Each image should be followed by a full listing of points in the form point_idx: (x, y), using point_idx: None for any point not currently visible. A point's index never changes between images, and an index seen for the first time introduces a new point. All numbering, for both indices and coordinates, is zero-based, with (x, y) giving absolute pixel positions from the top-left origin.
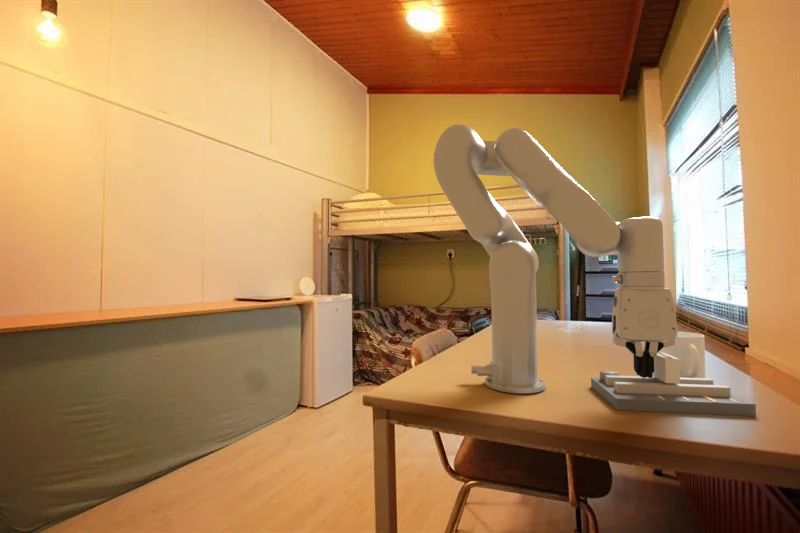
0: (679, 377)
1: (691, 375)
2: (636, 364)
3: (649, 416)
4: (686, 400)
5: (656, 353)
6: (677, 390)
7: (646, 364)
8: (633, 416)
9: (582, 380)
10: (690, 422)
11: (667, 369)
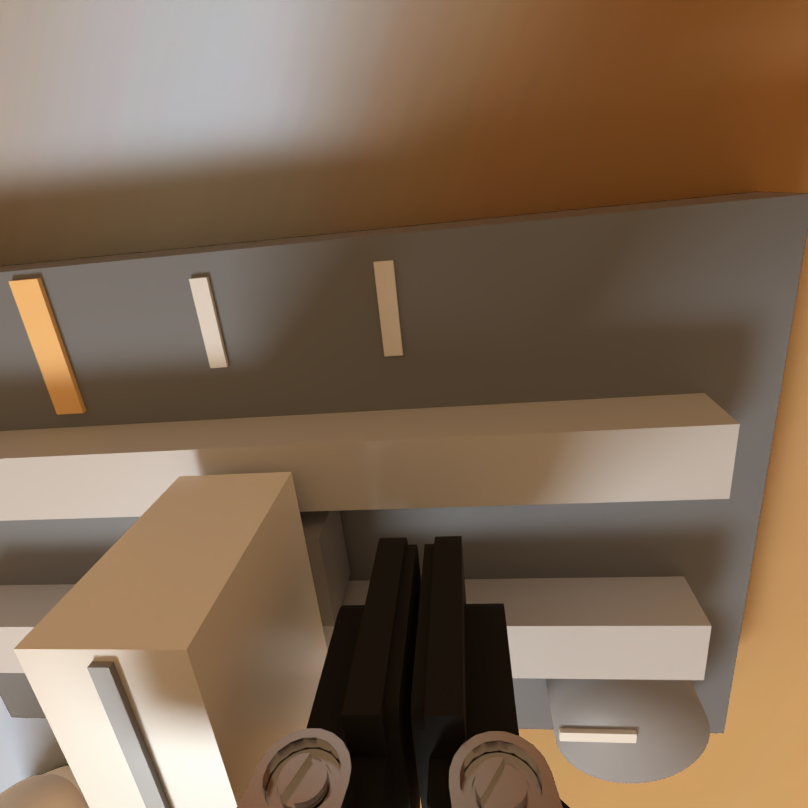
0: (154, 505)
1: (59, 786)
2: (509, 674)
3: (554, 90)
4: (217, 279)
5: (257, 779)
6: (227, 433)
7: (421, 634)
8: (690, 53)
9: (688, 782)
10: (294, 17)
11: (225, 548)
